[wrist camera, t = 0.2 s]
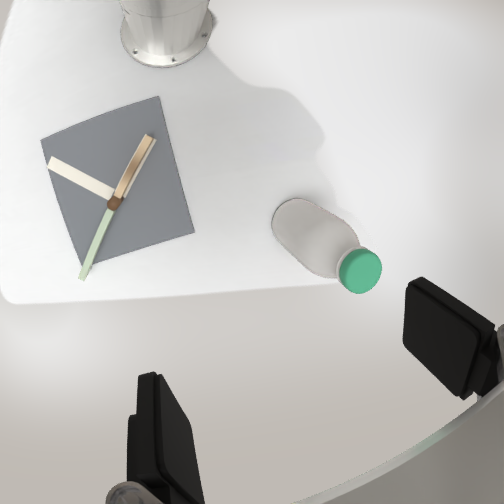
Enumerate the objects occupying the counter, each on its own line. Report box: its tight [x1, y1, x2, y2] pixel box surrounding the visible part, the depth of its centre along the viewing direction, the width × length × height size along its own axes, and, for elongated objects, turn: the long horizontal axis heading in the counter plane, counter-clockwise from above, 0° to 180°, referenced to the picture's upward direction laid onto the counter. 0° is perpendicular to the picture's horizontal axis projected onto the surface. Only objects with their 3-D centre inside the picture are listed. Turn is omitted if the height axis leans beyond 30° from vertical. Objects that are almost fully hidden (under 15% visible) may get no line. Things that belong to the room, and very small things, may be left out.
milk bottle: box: [272, 199, 382, 294], centre depth 39 cm, size 8×8×20 cm
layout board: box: [41, 96, 194, 266], centre depth 40 cm, size 20×18×1 cm
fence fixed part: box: [107, 135, 154, 210], centre depth 38 cm, size 10×2×5 cm, turn 148°
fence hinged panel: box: [78, 208, 116, 281], centre depth 40 cm, size 11×1×3 cm, turn 148°
